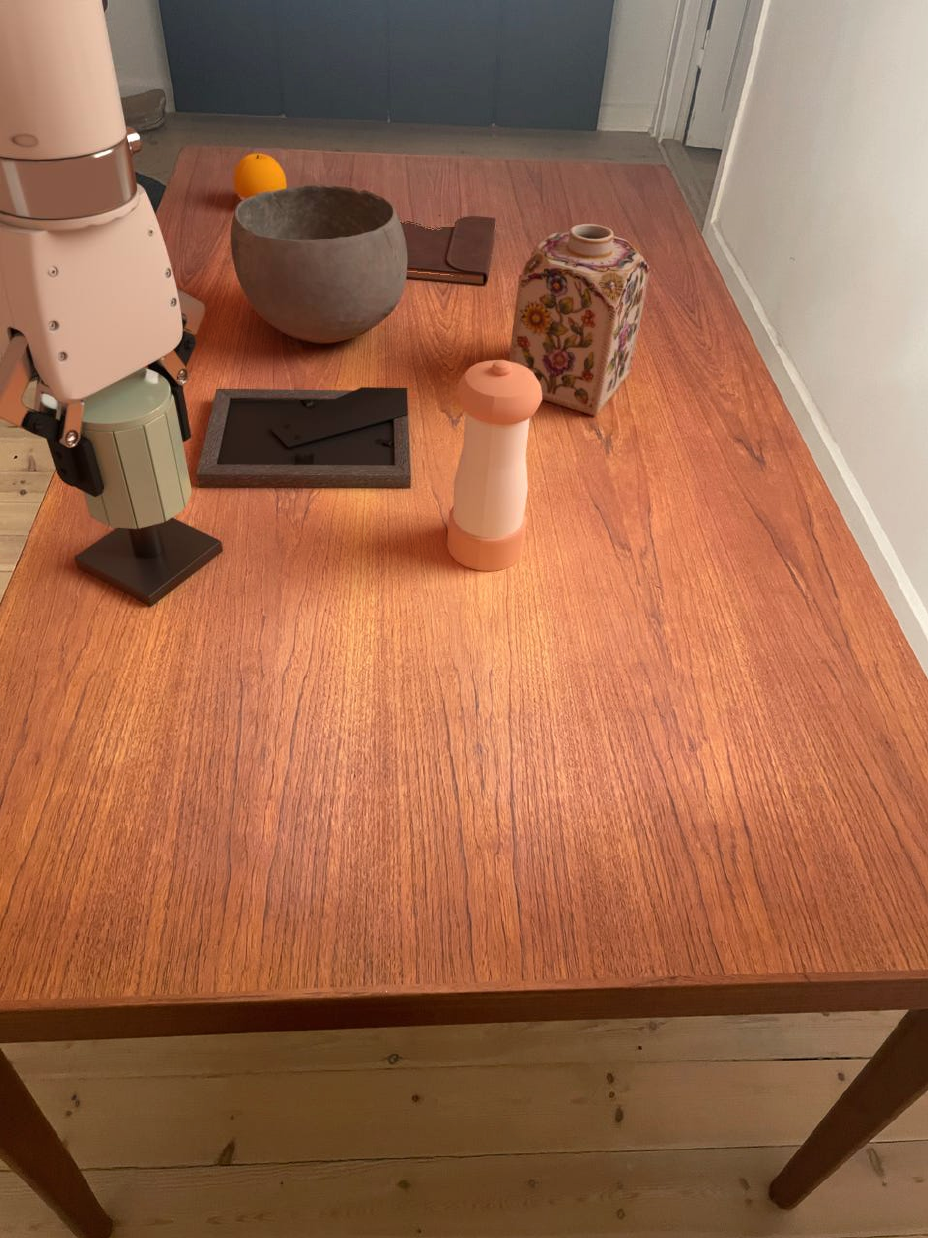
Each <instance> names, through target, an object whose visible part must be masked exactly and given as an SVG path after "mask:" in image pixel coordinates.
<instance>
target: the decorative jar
mask: <svg viewBox="0 0 928 1238" xmlns="http://www.w3.org/2000/svg"><path fill="white" fill-rule="evenodd" d="M649 265H650V264H648V263H647V261H646V260H645V259H644V256H643V254H642V253H641V252H640V251H639V250H637V248H635V246H634V245H632V243H630V242H629V241H628V240H627V239H625V238H622V237H620V236H619V237H618V236H615V235H614V232H613V230H612V229H610V228H609V227H607V226H604V225H600V224H596V223H583V224H576V225H574V226H572V227H571V228H570V229H569V231H561V232H553V233H550V234H548V235H547V236H545V237H544V238H543V239H541V240H540V241H539V242H538V243H537V244H536V246H535V247H534V249H533V251H532V252H531V253H530V257H529V258H528V260H527V261H526V263H525V265H524V268H523V270H522V272H521V274H519V276H518V281H517V282H518V286H517V293H516V300H515V308H514V314H513V324H512V330H511V331H512V332H511V341H510V352H509V360H508V361H509V362H514V363H518V364H520V365H522V366H524V367H527V368H528V369H529V370H531V371H532V372H533V373H534V375H535V376H536V378H537V380H538V381H539V383H540V385H541V390H542V401H547V402H548V403H549V402H550V403H552V404H555V405H559V406H562V407H565V408H567V409H571V410H574V411H577V412H581V413H584V414H587V415H590V416H594V417H596V416H598V414H600V412H601V411H602V409H603V408H604V407H605V406H606V405H607V404H608V402H609V401H610V399H611V398H612V397H613V396H614V394H615V393H616V391H617V390H618V389H619V388H620V386H621V384H622V383H623V382H624V381H625V380H626V379H627V377H628V376H629V374H630V372H631V369H632V364H633V360H634V355H635V350H636V345H637V341H638V336H639V330H640V325H641V319H642V314H643V309H644V305H645V299H646V292H647V288H648V287H647V285H648V281H649V276H650V273H651V268H650V266H649Z"/></svg>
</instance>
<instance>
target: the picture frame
mask: <svg viewBox="0 0 928 1238" xmlns="http://www.w3.org/2000/svg"><path fill="white" fill-rule="evenodd" d="M410 447H411V446H410V427H409V404H408V387H379V386H376V387H375V386H373V387H370V386H362V387H359V388H357V389H355V390H351V389H349V390H348V389H347V390H346V389H345V390H343V389H342V390H341V389H272V388H271V389H268V388H265V389H264V388H263V389H262V388H260V389H259V388H216V389H215V392H214V397H213V402H212V406H211V410H210V415H209V419H208V423H207V428H206V431H205V436H204V440H203V445H202V448H201V453H200V457H199V461H198V466H197V470H196V480H197V485H198V488H274V489H275V488H278V489H279V488H286V489H288V488H290V489H292V488H294V489H296V488H297V489H300V488H302V489H305V488H306V489H307V488H308V489H313V488H314V489H318V488H319V489H323V488H324V489H329V488H330V489H347V488H348V489H412V488H411V487H412V470H411V469H412V468H411V450H410V449H411V448H410Z"/></svg>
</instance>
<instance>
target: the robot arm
mask: <svg viewBox="0 0 928 1238" xmlns="http://www.w3.org/2000/svg"><path fill="white" fill-rule="evenodd" d="M104 10H105V9H104V5H103V0H0V357H1V360H0V419H1V420H2V421H5V422H7V423H9V424H11V425H13V426H16V427H18V428H20V429H22V430H25V431H26V432H29V433H31V434H33V435H36V436H38V437H41V438H43V439H45V440H46V442H47V446H48V450H49V452H50V455H51V458H52V462H53V465H54V468H55V471H56V474H57V476H58V477H59V479H60V480H61V481H62V482H63V483H64V484H66V485H68V486H69V487H74V488H75V489H78V490H80V491H81V490H82V491H84V492H86V493H87V494H89V495H91V496H93V497H97V496H99V495H100V494H102V493H103V490H104V485H103V482H102V478H101V474H100V471H99V467H98V464H97V460H96V456H95V453H94V449H93V446H92V443H91V442H90V440H88V439H87V438H83V437H81V430H82V423H83V416H84V409H85V402H86V397H88V396H90V395H92V394H94V393H96V392H98V391H100V390H102V389H104V388H106V387H108V386H109V385H111V384H113V383H115V382H117V381H119V380H121V379H123V378H125V377H126V376H128V375H130V374H132V373H134V372H136V371H138V370H139V369H141V368H146V369H150V370H152V371H155V372H157V373H159V374H160V375H162V376H163V377H164V378H165V379H166V380H167V381H168V383H169V385H170V388H171V393H172V395H173V397H174V401H175V406H176V411H177V416H178V422H179V427H180V432H181V437H182V442H183V443H186V442H188V440H190V439H191V438H192V431H191V425H190V421H189V413H188V408H187V403H186V398H185V392H184V387H183V385H185V384H186V383H187V382H188V381H189V378H190V370H189V368H188V367H187V366H188V364H189V362H190V359H191V357H192V355H193V353H194V350H195V347H196V345H197V338H196V335H198V333H199V331H200V327H201V324H202V322H203V319H204V317H205V315H206V311H207V309H206V305H205V303H204V302H202V301H201V300H199V299H197V298H195V297H193V296H191V295H190V294H188V293H186V292H184V291H183V290H181V289H179V288H177V284H176V281H175V280H176V279H175V276H174V271H173V267H172V263H171V260H170V257H169V256H170V255H169V252H168V249H167V246H166V242H165V240H164V237H163V233H162V230H161V227H160V224H159V221H158V218H157V216H156V213H155V211H154V207H153V205H152V204H151V200H150V198H149V196H148V194H147V192H146V189H145V188H144V186H142V185H141V184H140V183H138V182H137V177H136V171H135V167H134V161H133V155H134V154H138V153H140V152H141V150H142V139H141V137H140V135H139V133H138V131H137V130H136V129H135V128H133V127H132V126H126V121H125V116H124V111H123V110H124V109H123V106H122V99H121V94H120V90H119V89H120V88H119V85H118V79H117V74H116V69H115V64H114V59H113V54H112V47H111V42H110V37H109V32H108V26H107V22H106V16H105V11H104ZM35 381H36V388H35V396H34V404H33V405H34V406H33V408H31V407H29V406H26V405H25V404H24V401H23V398H24V397H23V396H24V394H25V392H26V390H27V389H28V386H29V384H30V383H32V382H35ZM58 402H60V403H62V406H61V413H60V420H58V419H57V418H56V414H57V406H58ZM82 491H81V492H82Z"/></svg>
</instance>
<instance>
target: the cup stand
mask: <svg viewBox="0 0 928 1238" xmlns="http://www.w3.org/2000/svg"><path fill="white" fill-rule="evenodd" d="M223 548H224V547H223V542H222V540H220V539H217V538H215V537H214V536H212V535H210V534H208V533H205V532H203V531H201V530H199V529H198V528H195V527H193V526H191V525H189V524H186V523H185V522H183V521H180V520H178V519H176V518H174V517H172V518H171V519H169V520H168V521H164V523H160V524H156V525H152V526H148V527H144V528H140V529H139V528H138V527H137V529H130V528H114V529H113V530H111V531H110V532H109V533H107V534H106V535H104V536H103V537H101V538H100V539H98V540H97V541H95V542H94V543H92V544H91V545H89V546H88V547H86V548H85V549H84V550H82V551H81V552H79V553H78V554H76V555H75V556H74V557H73V559H74V562H75V565H76V568H77V569H79V570H82V571H83V572H85V573H87V574H89V575H91V576H93V577H95V578H97V579H99V580H101V581H102V582H104V583H106V584H108V585H110V586H112V587H114V588H116V589H117V590H120V591H121V592H123V593H125V594H126V595H129V596H130V597H132V598H134V599H136V600H138V601H140V602H142V603H144V604H145V605H147V606H149V607H151V608H152V607H153V606H155V605H156V604H157V603H158V602H160V601H161V600H162V599H163V598H165V597H166V596H167V595H168V594H170V593H172V591H174V590H175V589H176V588H178V587H179V586H180V585H181V584H183V583H184V582H185V581H187V580H188V579H189V578H190V577H192V576H193V575H194V574H195V573H197V572H198V571H200V570H201V569H202V568H203V567H204V566H206V565H207V564H208V563H209V562H211V561H212V560H214V559H215V558H216V557H217V556H219V555H220V554H221V553H222V552H223V551H224V549H223Z"/></svg>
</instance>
